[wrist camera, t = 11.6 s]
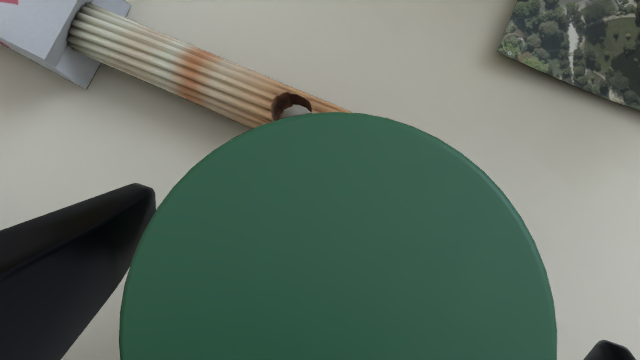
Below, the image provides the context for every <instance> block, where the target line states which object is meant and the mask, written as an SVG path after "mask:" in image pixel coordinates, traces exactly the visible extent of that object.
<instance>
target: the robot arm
mask: <svg viewBox="0 0 640 360" xmlns="http://www.w3.org/2000/svg"><path fill="white" fill-rule="evenodd" d="M155 212H156V200H155V192H154V190H153V189H152V188H150V187H147V186H144V185H141V184H138V183H133V184H130V185H127V186H124V187H121V188H119V189H116V190H113V191H110V192H107V193H105V194H102V195H99V196H96V197H93V198H90V199H88V200H85V201H82V202H79V203H76V204H74V205H71V206H68V207H65V208H62V209H60V210H57V211H54V212H51V213H48V214H46V215H43V216H40V217H37V218H34V219H32V220H29V221H26V222H23V223H20V224H18V225H15V226H12V227H9V228H6V229H4V230H1V231H0V360H61V359H62V357H63V356H64V355H65V353H66V352H67V351H68V350H69V348H70V347H71V346H72V344H73V343H74V342H75V341H76V339H77V338H78V337H79V335H80V334H81V333H82V332H83V330H84V329H85V328H86V327H87V325H88V324H89V323H90V321H91V320H92V319H93V318H94V316H95V315H96V314H97V312H98V311H99V310H100V309H101V307H102V306H103V305H104V303H105V302H106V301H107V300H108V298H109V297H110V296H111V294H112V293H113V292H114V290H115V289H116V288H117V286H118V285H119V283H120V282H121V280H122V279H123V277H124V275H125V274H126V272H127V271H128V269H129V267H130V265H131V262H132V258H133V256H134V253H135V251H136V249H137V246H138V244H139V242H140V239H141V237H142V235H143V232H144V231H145V229H146V227H147V225H148V224H149V222H150V220H151V218H152V217H153V215H154V213H155ZM584 360H636V359H635V358H634V356H633V355H632V354H631V352H630V351H629V350H628V349H627V348H626V347H624V346H622V345H619V344H616V343H613V342H610V341H607V340H601V341H599V342H598V343H597V344H596V345H595V346H594V347H593V349H592V350H591V351H590V352H589V354H588V355H587V356H586V357H585V358H584Z"/></svg>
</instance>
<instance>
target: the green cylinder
mask: <svg viewBox="0 0 640 360" xmlns="http://www.w3.org/2000/svg"><path fill="white" fill-rule="evenodd" d="M119 347H120V359H121V360H557V327H556V319H555V310H554V301H553V297H552V293H551V289H550V285H549V281H548V277H547V273H546V269H545V267H544V264H543V262H542V259H541V257H540V254H539V252H538V249H537V247H536V244H535V242H534V240H533V238H532V236H531V234H530V233H529V231H528V229H527V227H526V225H525V223H524V222H523V220H522V218H521V216H520V215H519V213H518V212H517V211H516V209H515V208H514V207H513V205H512V204H511V202H510V201H509V200H508V198H507V197H506V195H505V194H504V193H503V192H502V191H501V190H500V188H499V187H498V186H497V185H496V184H495V183H494V182H493V181H492V180H491V179H490V178H489V177H488V176H487V175H486V173H485V172H484V171H482V170H481V169H480V168H479V167H478V166H476V165H475V164H474V163H473V162H472V161H470V160H469V159H468V158H467V157H466V156H464V155H463V154H462V153H460V152H459V151H457V150H456V149H454V148H452V147H451V146H449V145H448V144H446V143H445V142H443V141H441V140H440V139H438V138H436V137H434V136H432V135H430V134H428V133H425V132H423V131H421V130H419V129H417V128H415V127H412V126H409V125H406V124H403V123H400V122H397V121H394V120H391V119H388V118H383V117H377V116H372V115H367V114H362V113H346V112H324V113H309V114H303V115H298V116H293V117H287V118H283V119H280V120H276V121H273V122H270V123H267V124H264V125H261V126H258V127H256V128H254V129H252V130H249V131H247V132H245V133H243V134H241V135H239V136H237V137H234V138H233V139H231V140H230V141H228V142H227V143H225V144H223V145H222V146H220V147H219V148H217V149H215V150H214V151H212V152H211V153H210V154H209V155H207V156H206V157H205V158H204V159H202V160H201V161H200V162H199V163H197V164H196V165H195V166H194V167H193V168H191V169H190V171H189V172H188V173H187V174H186V175H185V176H184V177H183V178H182V179H181V180H180V181H179V182H178V183H177V184H176V185H175V186H174V187H173V188H172V190H171V191H170V192H169V194H168V195H167V196H166V198H165V199H164V200H163V202H162V203H161V204H160V206H159V207H158V208H157V210H156V212H155V213H154V215H153V217H152V218H151V220H150V222H149V224H148V225H147V227H146V229H145V231H144V232H143V235H142V237H141V239H140V242H139V244H138V246H137V249H136V251H135V253H134V256H133V258H132V262H131V265H130V268H129V272H128V275H127V279H126V282H125V287H124V293H123V299H122V305H121V311H120V330H119Z"/></svg>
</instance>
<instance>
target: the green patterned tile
mask: <svg viewBox="0 0 640 360" xmlns="http://www.w3.org/2000/svg"><path fill="white" fill-rule="evenodd" d="M497 52H499V53H501V54H504V55H506V56H508V57H510V58H512V59H515V60H517V61H519V62H521V63H523V64H526V65H528V66H530V67H532V68H534V69H537V70H539V71H541V72H544V73H546V74H548V75H551V76H553V77H555V78H558V79H560V80H562V81H564V82H567V83H569V84H571V85H574V86H576V87H579V88H581V89H584V90H586V91H589V92H591V93H594V94H596V95H599V96H601V97H604V98H606V99H609V100H611V101H614V102H617V103H620V104H623V105H626V106H629V107H632V108H635V109H638V110H640V0H517V3H516V6H515V8H514V11H513V13H512V16H511V18H510V21H509V24H508V26H507V29H506V31H505V33H504V36H503V38H502V41H501V43H500V46H499V48H498V50H497Z"/></svg>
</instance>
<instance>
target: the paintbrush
mask: <svg viewBox="0 0 640 360" xmlns="http://www.w3.org/2000/svg"><path fill="white" fill-rule="evenodd" d="M130 7H131V5H129V4H128V3H127V2H126V1H124V0H0V43H1V44H3V45H5V46H6V47H8V48H10V49H12V50H14V51H16V52H18V53H19V54H21V55H23V56H25V57H27V58H29V59H31V60H32V61H34V62H36V63H38V64H40V65H42V66H44V67H45V68H47V69H49V70H51V71H53V72H55V73H56V74H58V75H60V76H62V77H64V78H66V79H68V80H69V81H71V82H73V83H75V84H77V85H79V86H81V87H82V88H84V89H87V87H88V85H89V83H90V81H91V80H92V78H93V76H94V74H95V72H96V70H97V68H98V67H99V65H100V63H104V64H106V65H108V66H111V67H113V68H115V69H118V70H120V71H122V72H125V73H127V74H129V75H132V76H134V77H137V78H139V79H141V80H144V81H146V82H148V83H151V84H153V85H155V86H158V87H160V88H162V89H164V90H167V91H169V92H171V93H174V94H176V95H178V96H180V97H183V98H185V99H187V100H189V101H192V102H194V103H196V104H199V105H201V106H203V107H205V108H208V109H210V110H212V111H214V112H217V113H219V114H221V115H224V116H226V117H228V118H230V119H233V120H235V121H237V122H239V123H242V124H244V125H246V126H249V127H251V128H253V129H254V128H256V127H258V126H261V125H264V124H267V123H270V122H273V121H276V120H278V119H279V116H280V115H281V114H282V113H283V111H284V109H287V108H289V107H291V106H293V105H301V106H303V107H306V108H307V109H308V110H309V111H310V112H311V113H324V112H346V113H352V112H350V111H348V110H345V109H343V108H340V107H338V106H336V105H333V104H331V103H328V102H326V101H324V100H321V99H319V98H316V97H314V96H312V95H309V94H307V93H304V92H302V91H300V90H297V89H295V88H293V87H290V86H288V85H285V84H283V83H281V82H278V81H276V80H273V79H271V78H269V77H266V76H264V75H261V74H259V73H257V72H254V71H252V70H249V69H247V68H245V67H242V66H240V65H237V64H235V63H233V62H230V61H228V60H225V59H223V58H220V57H218V56H216V55H213V54H211V53H208V52H206V51H203V50H201V49H199V48H196V47H194V46H191V45H189V44H187V43H184V42H182V41H179V40H177V39H174V38H172V37H170V36H167V35H165V34H162V33H160V32H157V31H155V30H153V29H150V28H148V27H145V26H143V25H141V24H138V23H136V22H133V21H131V20H129V19H127V18H125V16H126V14H127V12H128V11H129V9H130Z"/></svg>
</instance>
